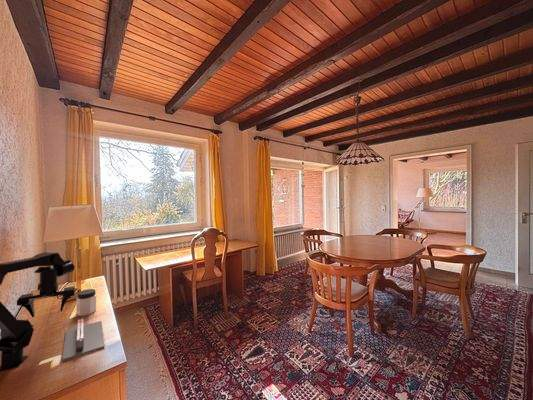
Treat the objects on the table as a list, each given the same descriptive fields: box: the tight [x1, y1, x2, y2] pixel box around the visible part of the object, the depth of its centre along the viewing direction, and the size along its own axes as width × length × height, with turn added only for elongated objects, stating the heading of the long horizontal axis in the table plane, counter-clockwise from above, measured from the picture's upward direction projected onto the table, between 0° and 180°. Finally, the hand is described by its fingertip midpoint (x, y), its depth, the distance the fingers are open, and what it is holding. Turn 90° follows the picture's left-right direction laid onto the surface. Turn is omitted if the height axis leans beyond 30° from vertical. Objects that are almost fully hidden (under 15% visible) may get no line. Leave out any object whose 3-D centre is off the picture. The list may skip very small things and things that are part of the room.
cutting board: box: [61, 320, 106, 363], centre depth 105 cm, size 26×14×1 cm, turn 39°
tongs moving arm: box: [80, 318, 84, 338], centre depth 106 cm, size 20×1×4 cm, turn 39°
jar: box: [76, 288, 97, 317], centre depth 130 cm, size 9×8×12 cm
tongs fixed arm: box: [76, 319, 84, 352], centre depth 105 cm, size 23×3×4 cm, turn 39°
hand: (47, 314), depth 103 cm, fingers open, 9 cm apart
